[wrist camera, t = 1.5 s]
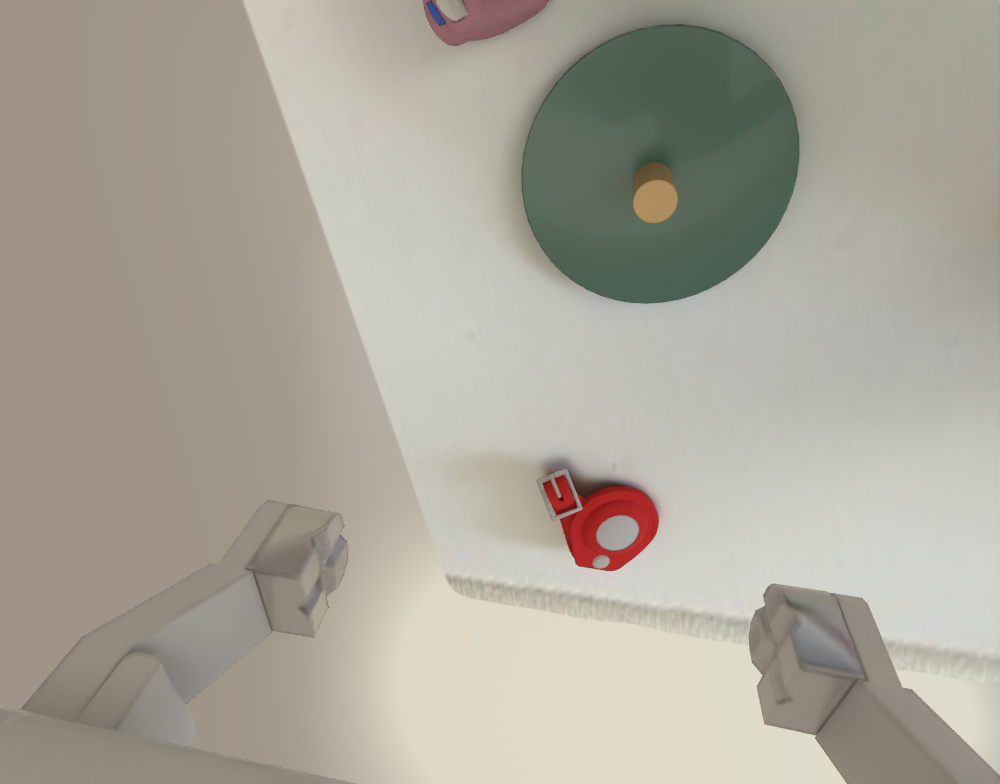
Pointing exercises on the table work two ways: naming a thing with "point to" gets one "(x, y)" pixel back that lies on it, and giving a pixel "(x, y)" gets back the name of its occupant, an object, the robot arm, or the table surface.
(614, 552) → the tracker holder
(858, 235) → the table surface
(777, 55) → the table surface
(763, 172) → the tin lid
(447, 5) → the video game controller
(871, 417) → the table surface
